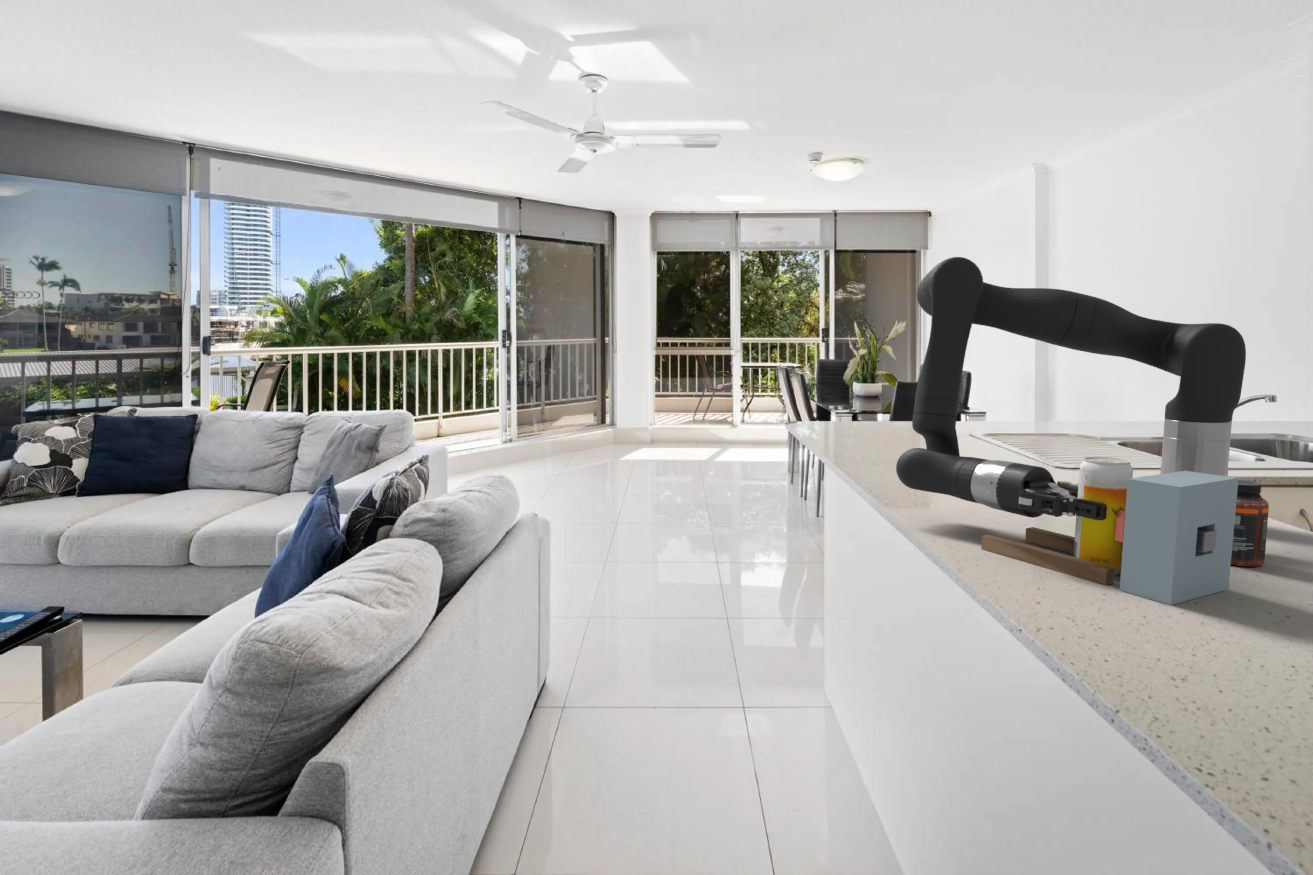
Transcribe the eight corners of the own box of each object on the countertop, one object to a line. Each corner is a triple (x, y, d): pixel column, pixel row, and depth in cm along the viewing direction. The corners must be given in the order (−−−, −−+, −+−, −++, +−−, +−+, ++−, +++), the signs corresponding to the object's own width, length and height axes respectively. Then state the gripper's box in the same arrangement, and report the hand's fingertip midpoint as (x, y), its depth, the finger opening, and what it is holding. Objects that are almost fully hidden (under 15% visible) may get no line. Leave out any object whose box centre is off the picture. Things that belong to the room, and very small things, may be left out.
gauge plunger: (1133, 536, 99) (1136, 506, 98) (1218, 555, 90) (1221, 522, 90) (1114, 540, 97) (1117, 509, 97) (1198, 559, 88) (1201, 526, 88)
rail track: (1032, 539, 117) (1032, 527, 116) (1159, 572, 100) (1160, 557, 100) (981, 548, 112) (981, 535, 112) (1105, 584, 95) (1106, 569, 95)
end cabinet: (1172, 575, 99) (1181, 470, 97) (1228, 589, 93) (1238, 478, 91) (1115, 588, 93) (1123, 478, 92) (1170, 604, 88) (1180, 486, 86)
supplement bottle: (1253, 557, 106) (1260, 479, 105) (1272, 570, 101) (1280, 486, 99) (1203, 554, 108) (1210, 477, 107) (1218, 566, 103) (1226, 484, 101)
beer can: (1132, 577, 98) (1141, 464, 96) (1081, 574, 99) (1089, 462, 97) (1114, 564, 104) (1122, 456, 102) (1066, 561, 105) (1073, 455, 103)
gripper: (978, 466, 109) (1088, 486, 94) (1044, 459, 116) (1157, 476, 101) (976, 516, 110) (1084, 544, 95) (1041, 506, 117) (1152, 531, 102)
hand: (1121, 509), depth 98 cm, fingers open, 6 cm apart
